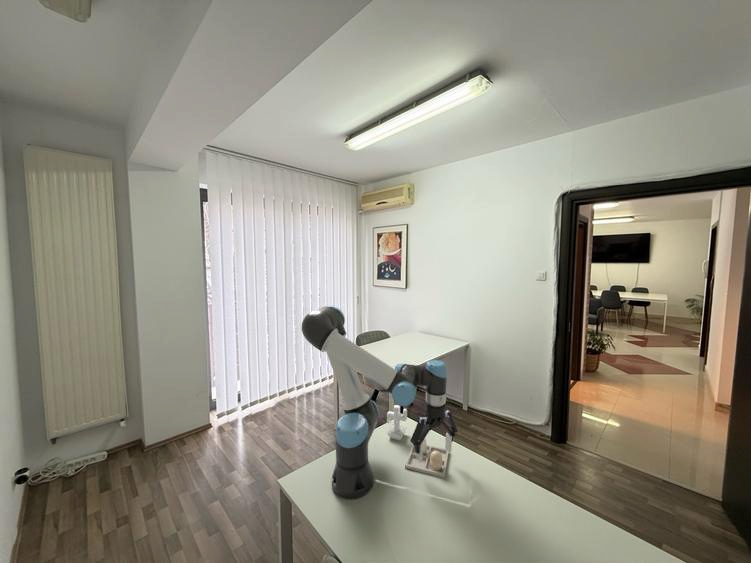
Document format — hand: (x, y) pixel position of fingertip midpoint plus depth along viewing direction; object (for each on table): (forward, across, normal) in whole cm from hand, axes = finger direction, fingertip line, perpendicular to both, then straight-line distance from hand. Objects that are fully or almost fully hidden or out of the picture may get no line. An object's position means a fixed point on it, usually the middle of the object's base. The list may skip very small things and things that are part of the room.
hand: (434, 455), depth 113 cm
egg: (+5, 0, -1) cm, 5 cm away
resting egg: (+5, 0, +10) cm, 11 cm away
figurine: (+6, -3, +24) cm, 25 cm away
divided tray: (+6, 0, +5) cm, 7 cm away
